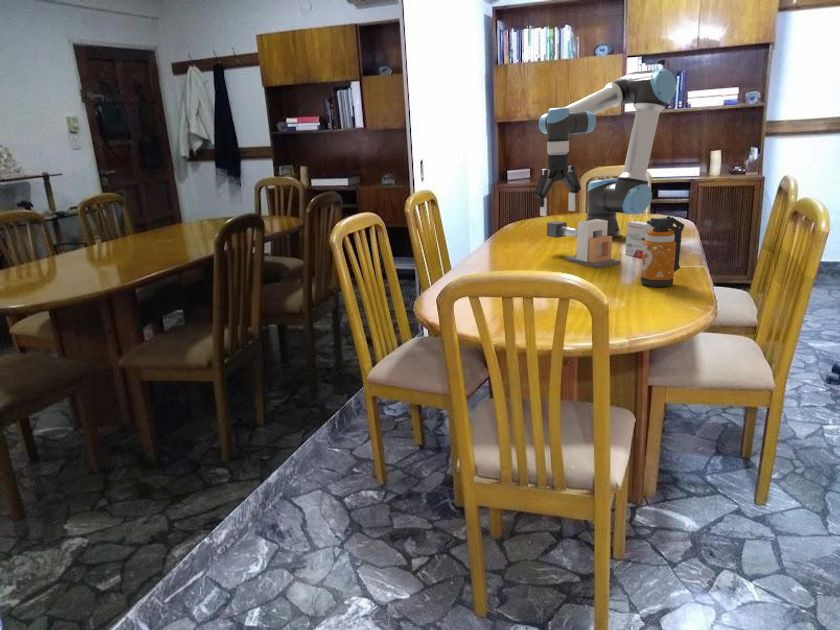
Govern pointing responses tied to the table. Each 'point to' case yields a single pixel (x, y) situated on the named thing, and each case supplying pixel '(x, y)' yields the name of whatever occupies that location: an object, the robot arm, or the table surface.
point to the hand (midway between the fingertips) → (557, 213)
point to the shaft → (561, 230)
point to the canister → (661, 252)
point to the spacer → (594, 248)
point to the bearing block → (583, 236)
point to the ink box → (636, 237)
